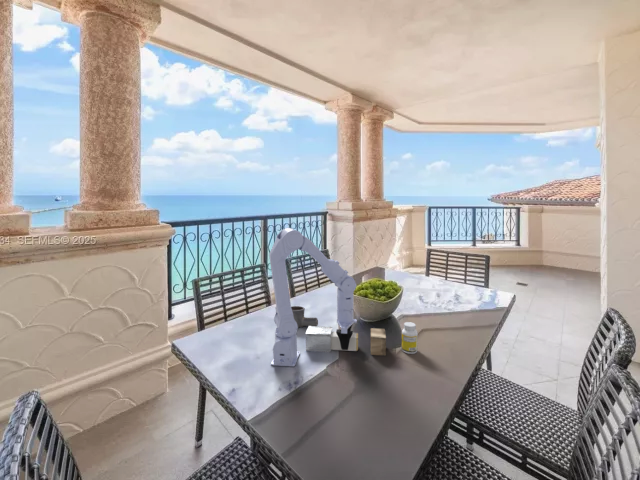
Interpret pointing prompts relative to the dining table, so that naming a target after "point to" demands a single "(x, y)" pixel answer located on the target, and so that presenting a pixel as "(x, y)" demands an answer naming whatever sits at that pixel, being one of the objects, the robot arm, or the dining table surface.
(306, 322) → the pipe
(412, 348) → the supplement bottle
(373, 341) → the socket
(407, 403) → the dining table surface
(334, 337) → the long white bar
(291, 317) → the robot arm
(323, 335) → the sleeve
